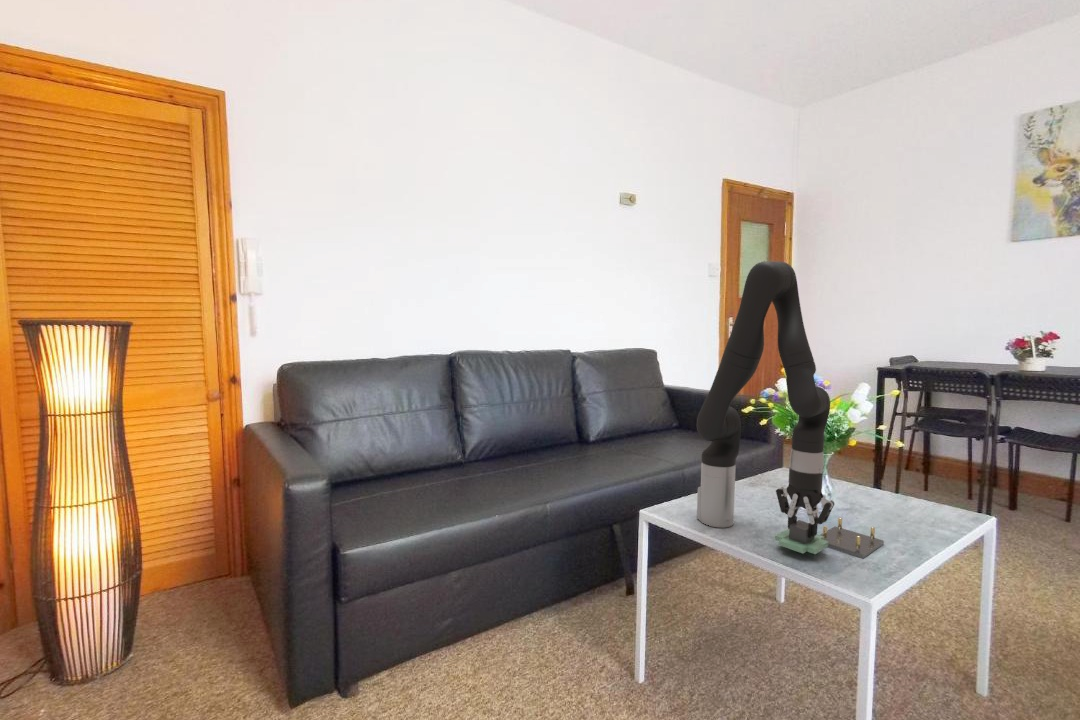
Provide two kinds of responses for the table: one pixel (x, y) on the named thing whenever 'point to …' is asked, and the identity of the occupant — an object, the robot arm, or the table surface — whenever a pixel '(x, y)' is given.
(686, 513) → the table surface
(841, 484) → the table surface
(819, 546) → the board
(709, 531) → the table surface
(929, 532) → the table surface
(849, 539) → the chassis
